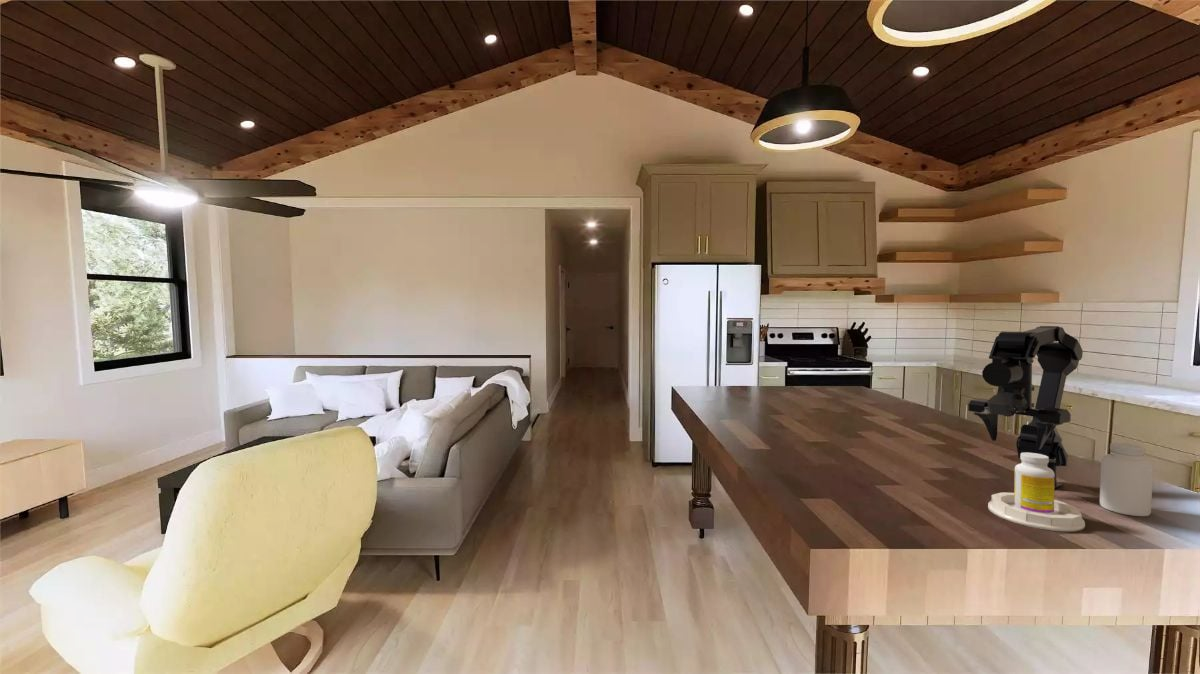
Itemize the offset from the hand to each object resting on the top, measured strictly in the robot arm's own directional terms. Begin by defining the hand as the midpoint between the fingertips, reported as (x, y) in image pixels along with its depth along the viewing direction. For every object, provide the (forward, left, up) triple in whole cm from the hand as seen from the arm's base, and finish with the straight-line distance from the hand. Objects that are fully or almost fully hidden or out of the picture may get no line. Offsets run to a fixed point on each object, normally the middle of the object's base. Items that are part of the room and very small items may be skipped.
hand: (1015, 444), depth 119 cm
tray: (+11, +9, -13) cm, 19 cm away
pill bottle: (-11, +16, -13) cm, 23 cm away
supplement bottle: (+11, +9, -12) cm, 18 cm away
